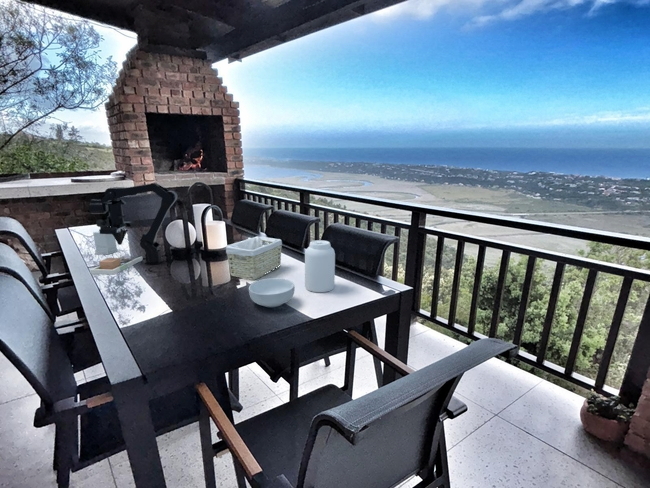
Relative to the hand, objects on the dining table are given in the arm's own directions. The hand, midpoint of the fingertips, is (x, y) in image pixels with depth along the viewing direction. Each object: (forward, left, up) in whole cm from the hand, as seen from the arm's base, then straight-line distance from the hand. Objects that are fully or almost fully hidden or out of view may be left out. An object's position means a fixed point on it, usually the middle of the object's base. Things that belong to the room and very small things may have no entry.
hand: (119, 244), depth 166 cm
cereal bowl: (-84, +42, -11) cm, 95 cm away
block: (0, +8, -10) cm, 14 cm away
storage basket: (-70, +6, -11) cm, 71 cm away
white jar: (-101, +25, -11) cm, 105 cm away
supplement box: (+22, -20, -11) cm, 31 cm away
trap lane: (0, +3, -10) cm, 11 cm away
